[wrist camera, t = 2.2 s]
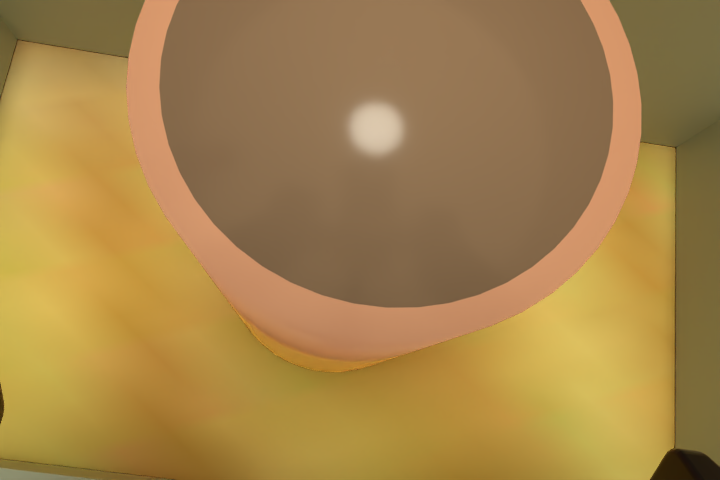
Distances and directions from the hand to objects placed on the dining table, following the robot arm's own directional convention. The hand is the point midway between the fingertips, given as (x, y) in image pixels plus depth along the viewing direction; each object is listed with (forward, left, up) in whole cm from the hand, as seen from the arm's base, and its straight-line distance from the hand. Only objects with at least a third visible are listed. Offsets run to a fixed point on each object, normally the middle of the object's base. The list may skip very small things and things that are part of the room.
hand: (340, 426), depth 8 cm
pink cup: (+4, -1, -11) cm, 12 cm away
